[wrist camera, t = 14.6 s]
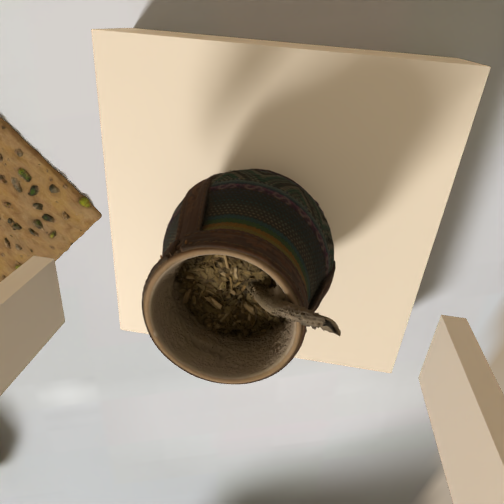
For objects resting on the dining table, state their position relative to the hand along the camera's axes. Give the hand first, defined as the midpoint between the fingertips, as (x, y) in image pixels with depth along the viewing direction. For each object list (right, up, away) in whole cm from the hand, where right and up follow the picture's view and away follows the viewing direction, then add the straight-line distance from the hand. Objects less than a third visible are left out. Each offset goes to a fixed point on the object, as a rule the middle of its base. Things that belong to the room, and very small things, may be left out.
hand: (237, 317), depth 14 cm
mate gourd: (+1, +4, +6) cm, 7 cm away
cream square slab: (+2, +6, +11) cm, 12 cm away
